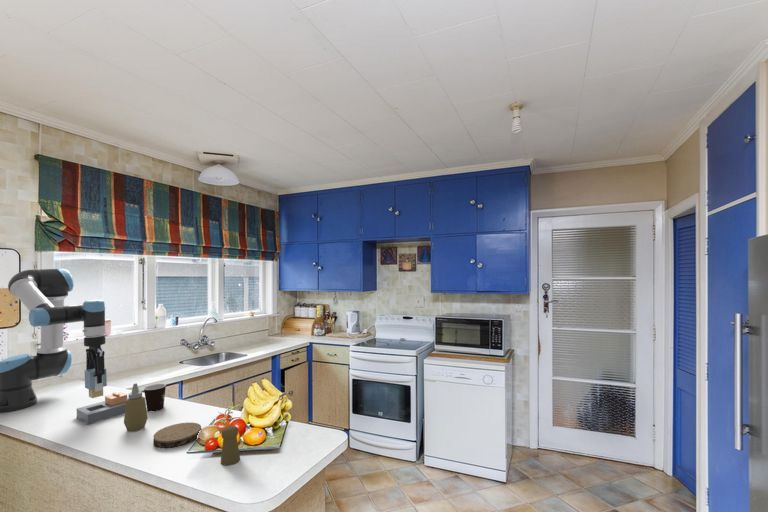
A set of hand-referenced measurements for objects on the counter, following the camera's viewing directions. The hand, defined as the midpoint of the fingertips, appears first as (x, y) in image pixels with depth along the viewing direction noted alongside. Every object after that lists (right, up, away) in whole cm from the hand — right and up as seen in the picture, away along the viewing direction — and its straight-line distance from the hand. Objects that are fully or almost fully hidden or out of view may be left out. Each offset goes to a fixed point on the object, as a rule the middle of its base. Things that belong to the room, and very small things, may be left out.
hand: (95, 389), depth 169 cm
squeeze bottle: (+26, -11, -14) cm, 32 cm away
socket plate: (+3, -12, +3) cm, 13 cm away
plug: (0, -3, 0) cm, 3 cm away
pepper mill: (+74, -10, -41) cm, 85 cm away
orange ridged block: (+5, -8, +6) cm, 11 cm away
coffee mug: (+22, -12, +9) cm, 26 cm away
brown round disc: (+48, -11, -23) cm, 54 cm away
